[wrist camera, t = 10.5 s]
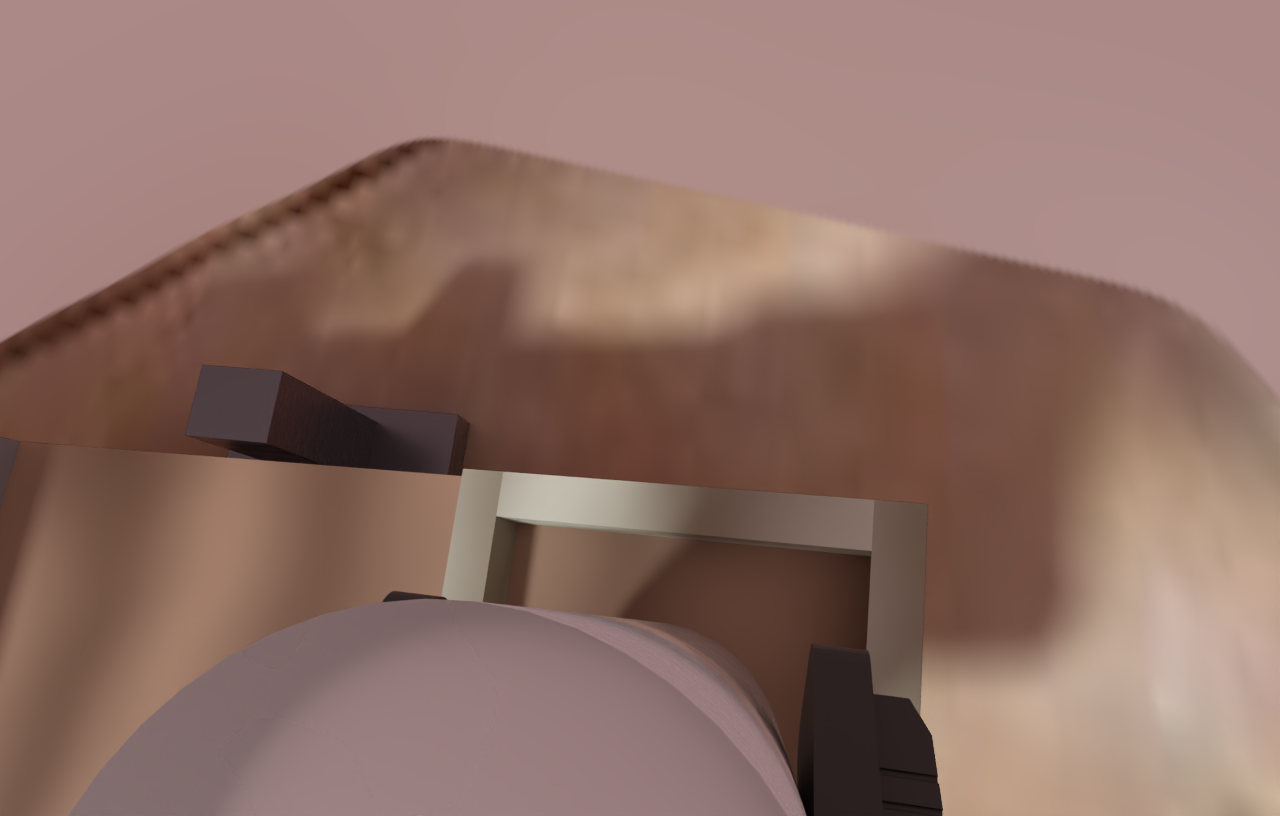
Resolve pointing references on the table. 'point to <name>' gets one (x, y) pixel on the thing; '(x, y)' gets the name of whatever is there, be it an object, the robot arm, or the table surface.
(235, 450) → the fulcrum stand
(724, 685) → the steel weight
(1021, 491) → the table surface
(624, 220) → the table surface
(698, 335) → the table surface
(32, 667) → the balance beam
